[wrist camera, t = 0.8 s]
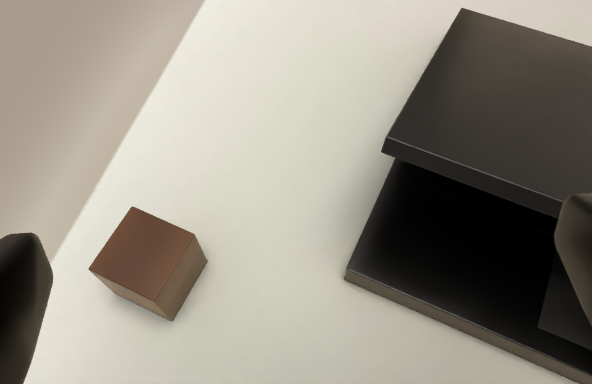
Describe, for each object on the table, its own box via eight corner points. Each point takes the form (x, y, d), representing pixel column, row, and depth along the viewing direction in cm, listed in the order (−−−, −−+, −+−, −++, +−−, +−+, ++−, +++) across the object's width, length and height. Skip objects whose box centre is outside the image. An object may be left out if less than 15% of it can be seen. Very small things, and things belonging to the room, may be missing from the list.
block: (208, 261, 30) (195, 234, 27) (172, 322, 28) (153, 301, 25) (151, 234, 31) (131, 205, 27) (113, 292, 29) (87, 268, 26)
